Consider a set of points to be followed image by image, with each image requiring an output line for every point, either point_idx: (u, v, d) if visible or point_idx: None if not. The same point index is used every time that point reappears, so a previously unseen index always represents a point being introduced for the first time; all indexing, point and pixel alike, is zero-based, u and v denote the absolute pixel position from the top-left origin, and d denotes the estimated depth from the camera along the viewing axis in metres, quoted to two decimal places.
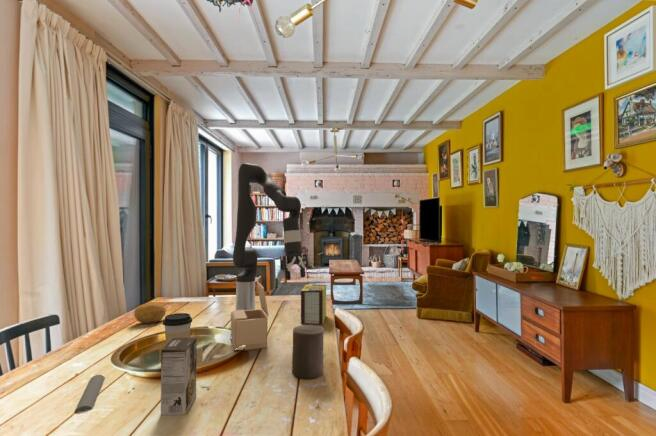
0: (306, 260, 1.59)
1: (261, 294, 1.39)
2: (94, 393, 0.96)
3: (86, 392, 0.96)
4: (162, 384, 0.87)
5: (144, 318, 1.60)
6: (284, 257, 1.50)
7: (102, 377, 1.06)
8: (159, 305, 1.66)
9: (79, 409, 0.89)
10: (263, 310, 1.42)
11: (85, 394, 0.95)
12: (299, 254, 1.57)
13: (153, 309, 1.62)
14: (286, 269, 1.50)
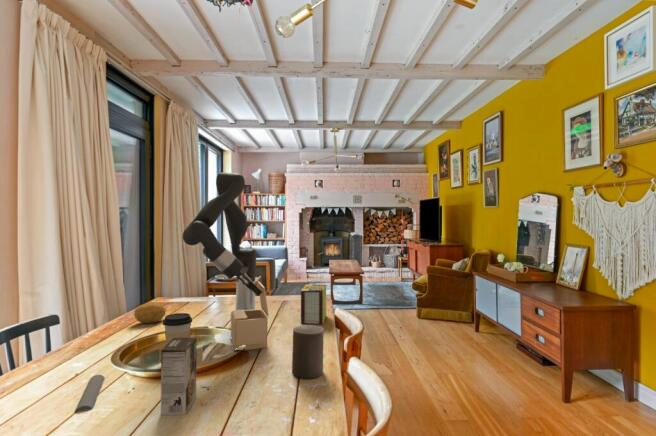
0: (246, 286, 1.34)
1: (262, 294, 1.39)
2: (94, 393, 0.96)
3: (86, 392, 0.96)
4: (162, 384, 0.87)
5: (144, 318, 1.60)
6: None
7: (102, 377, 1.06)
8: (159, 305, 1.66)
9: (79, 409, 0.89)
10: (263, 310, 1.42)
11: (85, 394, 0.95)
12: (237, 277, 1.34)
13: (153, 309, 1.62)
14: None
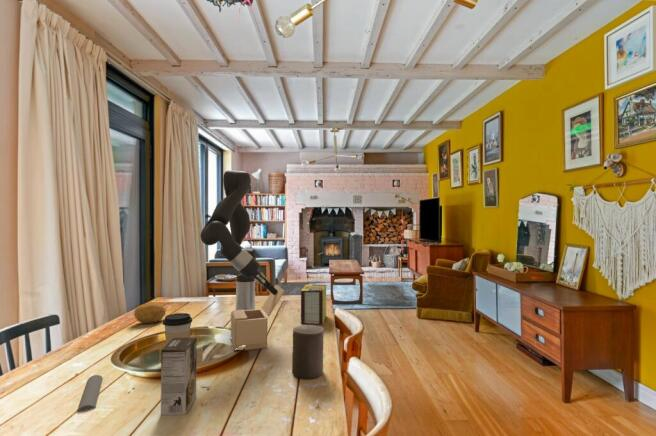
0: (263, 285, 1.36)
1: (275, 295, 1.41)
2: (95, 393, 0.96)
3: (86, 392, 0.96)
4: (162, 384, 0.87)
5: (144, 318, 1.60)
6: None
7: (100, 377, 1.06)
8: (159, 305, 1.66)
9: (82, 409, 0.89)
10: (264, 310, 1.42)
11: (86, 394, 0.95)
12: (254, 276, 1.36)
13: (153, 309, 1.62)
14: None
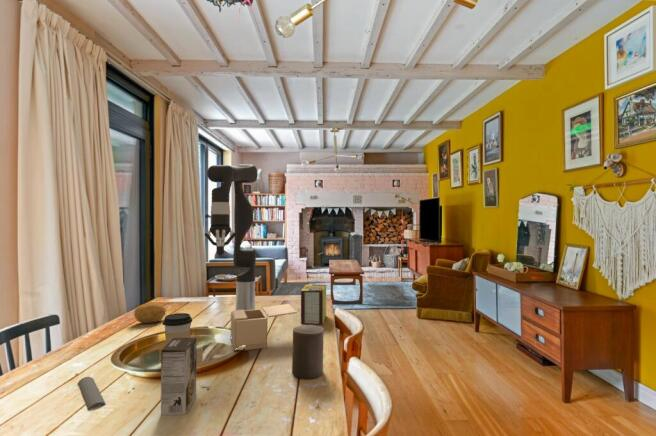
0: (230, 238, 1.47)
1: (283, 309, 1.42)
2: (97, 392, 0.97)
3: (88, 392, 0.96)
4: (162, 384, 0.87)
5: (144, 318, 1.60)
6: (206, 235, 1.44)
7: (92, 378, 1.05)
8: (159, 305, 1.66)
9: (93, 406, 0.90)
10: (265, 310, 1.42)
11: (88, 394, 0.95)
12: (228, 227, 1.47)
13: (153, 309, 1.62)
14: None
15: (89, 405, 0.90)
